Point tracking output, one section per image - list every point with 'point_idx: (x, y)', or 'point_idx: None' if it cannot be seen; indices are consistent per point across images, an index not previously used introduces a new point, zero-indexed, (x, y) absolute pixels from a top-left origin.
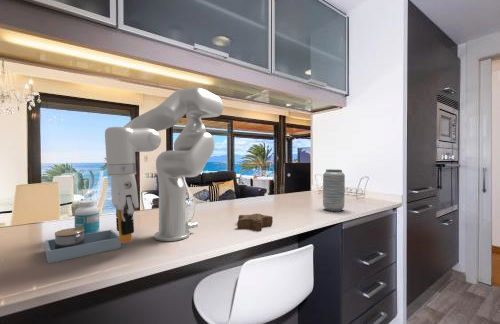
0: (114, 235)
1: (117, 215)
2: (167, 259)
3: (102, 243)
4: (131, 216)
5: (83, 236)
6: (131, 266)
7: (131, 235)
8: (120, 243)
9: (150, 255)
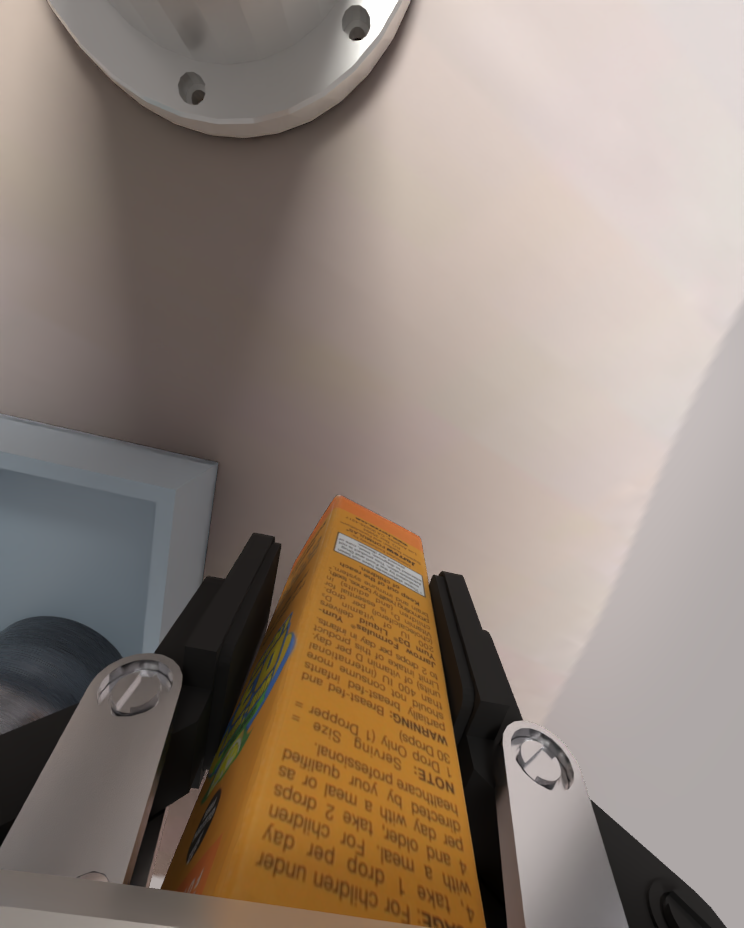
0: (28, 468)
1: (165, 819)
2: (670, 381)
3: (171, 607)
4: (659, 880)
5: (8, 708)
6: (549, 570)
7: (406, 550)
8: (199, 480)
9: (502, 406)
